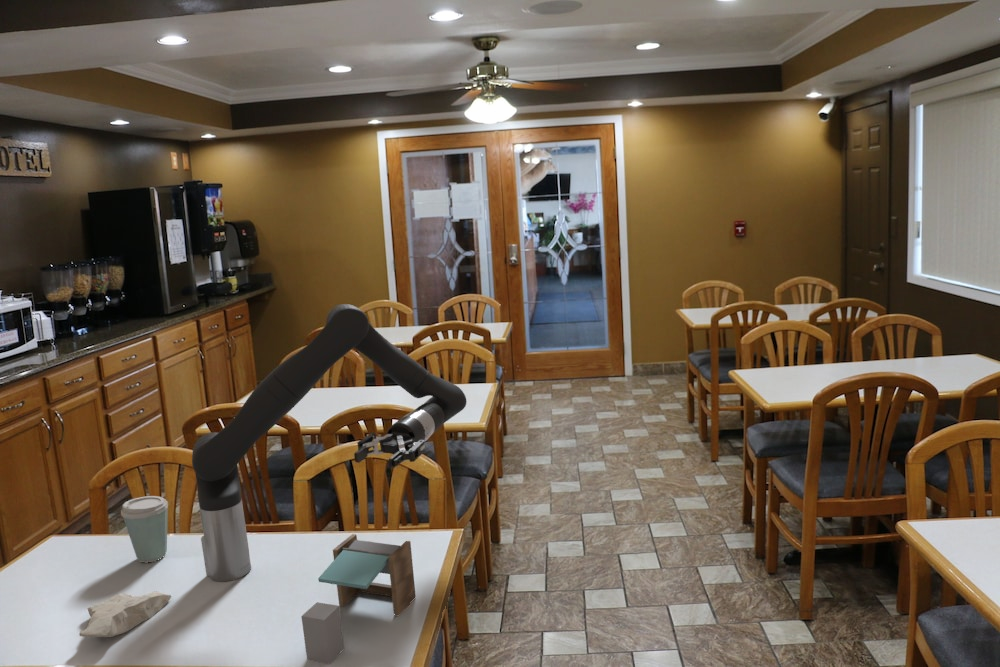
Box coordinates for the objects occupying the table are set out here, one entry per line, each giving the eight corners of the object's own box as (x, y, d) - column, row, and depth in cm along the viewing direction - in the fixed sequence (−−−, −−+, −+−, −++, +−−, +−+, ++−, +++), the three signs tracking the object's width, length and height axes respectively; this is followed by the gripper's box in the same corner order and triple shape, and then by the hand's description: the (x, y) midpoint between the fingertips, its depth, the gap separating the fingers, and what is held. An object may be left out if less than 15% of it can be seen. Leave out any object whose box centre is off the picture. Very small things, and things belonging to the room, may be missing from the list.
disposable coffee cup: (160, 544, 203) (151, 489, 200) (185, 553, 196) (176, 496, 194) (120, 561, 194) (111, 504, 191) (145, 572, 188) (135, 513, 185)
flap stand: (358, 588, 173) (352, 534, 171) (415, 597, 168) (410, 541, 165) (339, 606, 167) (332, 549, 164) (398, 616, 161) (392, 557, 159)
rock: (48, 648, 159) (104, 651, 154) (43, 626, 159) (100, 629, 153) (130, 601, 179) (182, 602, 174) (126, 581, 179) (178, 582, 173)
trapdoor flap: (359, 560, 171) (354, 537, 169) (404, 566, 167) (399, 542, 165) (324, 602, 159) (318, 578, 157) (371, 610, 155) (365, 585, 152)
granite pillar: (316, 602, 151) (322, 644, 153) (301, 616, 147) (307, 659, 148) (339, 605, 149) (344, 648, 151) (324, 619, 145) (329, 664, 146)
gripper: (383, 412, 183) (342, 440, 169) (438, 419, 177) (400, 449, 163) (387, 441, 185) (346, 472, 171) (440, 449, 179) (403, 482, 165)
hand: (373, 461), depth 167 cm, fingers open, 8 cm apart
